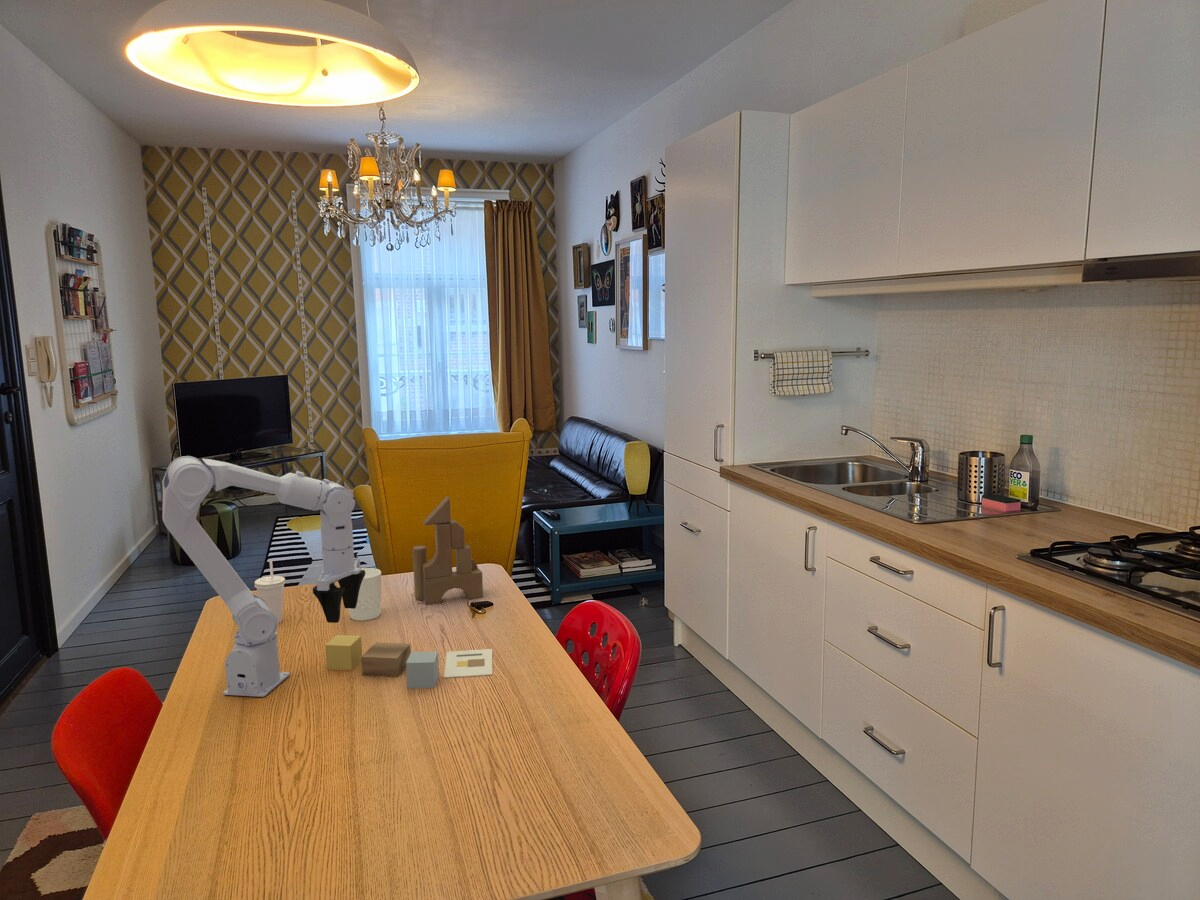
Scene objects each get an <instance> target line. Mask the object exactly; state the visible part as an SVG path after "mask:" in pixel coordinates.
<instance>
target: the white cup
mask: <svg viewBox="0 0 1200 900" xmlns="http://www.w3.org/2000/svg"><path fill="white" fill-rule="evenodd" d="M360 568H361V567H360ZM361 570H365V576H364V578H363V580H362V583H361V586H360V590H359V595H358V600H357V605H356V608H355V609H351V608H348V610H349V611H348V612H349V617H350V619H352V620H353V621H360V622H361V621H369V620H374V619H376V618H378V617H380V616H381V613H382V612H381V611H382V610H381V606H382V605H381V602H382V571H381V570H380V569H379V568H372V567H364V568H363V567H362V568H361Z"/></svg>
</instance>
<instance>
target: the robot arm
mask: <svg viewBox="0 0 1200 900" xmlns="http://www.w3.org/2000/svg"><path fill="white" fill-rule="evenodd" d="M201 460H202V461H203V462H204V463H205V464H204V463H203V462H202V461H201ZM161 482H162V483H161V484H162V510H161V511H162V514H161V515H162V516H161V517H162V522H163V524H164V526H165V527H166V529H167V531H168V532H169V533H170V534H171V536H172V537H173V538H174V539H175V541H177V543H178V544H179V546H180V547H181V548H182V550H183V551H184V552H185V553H186V555H187V557H189V559H190V560H191V561H192V562H193V564H194V565H195V566H196V568H197V569H198V570H199V571H200V573H201V575H203V576H204V578H205V579H206V581H207V582H208V583H209V584H210V586H211V587H212V588H213V589H214V590H215V592H216V593H217V594H218V596H219V597H220V599H221V600H222V601H223V602H224V604H225V606H226V607H227V608H228V610H229V611H230V612H231V614H232V615H231V616H232V620H233V622H234V623H235V625H236V626H237V627H238V629H237V630H236V633H235V635H234V639H233V640H234V645H233V648H232V650H231V651H230V652H229V653H228V655H227V656H226V659H225V662H224V663H225V664H224V665H225V676H226V677H225V678H226V688H227V689H225V690H223V692H222V695H224V696H240V697H241V696H242V697H259V698H260V697H261V698H263V697H266V696H267V695H268V694H270V693H271V692H272V690H274V689H275V688H276V687H278V686H279V685H280V684H281V683H282V682H283V681H284V680H286V679H287V678H288V677H289V676H290V675H291V673H290V672H288V671H287V672H286V671H281V670H280V658H279V642H278V631H277V629H278V625H279V623H278V622H277V618H276V616H275V615H274V613H273V612H272V611H271V610H270V609H269V607H268V605H267V603H266V602H265V600H264V599H262V598H261V597H258V595H256V594H254V593H253V592H252V591H251V590H250V588H249V587H248V586H247V585H246V583H245V582H244V581H243V579H242V578H241V576H239V574H238V573H237V572H236V570H235V569H234V568H233V566H232V565H231V563H230V562H229V561H228V560H227V558H226V556H224V555H223V553H222V552H221V550H220V549H219V548H218V546H217V545H216V544H215V543H214V541H213V540H212V538H211V537H210V535H208V533H207V532H206V530H205V529H204V528H203V526H202V525H201V524H200V522H199V521H198V520H197V517H198V513H199V512H198V511H199V509H200V506H201V503H202V502H203V501H204V499H205V498H206V497H207V495H208V494H209V493H210V491H211V490H212V488H213V490H214V491H215V492H219V491H221V490H224V489H226V488H229V487H232V486H234V487H236V488H242V489H248V490H253V491H258V492H261V493H262V492H263V493H266V494H267V493H268V494H272V495H273V494H274V495H275V496H276V497H277V499H278V501H279V502H280V504H284V505H289V506H292V507H297V508H301V509H305V510H310V511H315V512H316V511H319V510H320V511H319V513H320V514H319V515H320V538H321V552H322V555H321V556H322V570H321V573H320V576H319V577H318V579H317V580H316V585H315V586H313V587H312V593H313V595H314V597H316V599H317V600H318V602H319V604H320V605H321V608H322V611H323V613H324V616H325V620H326V622H327V623H330V624H331V623H333V624H336V623H337V624H338V623H339V622H340V618H341V605H342V604H343V607H344V608H345V609H349V608H351V609H355V608H356V605H357V600H358V595H359V590H360V586H361V583H362V580H363V578H364V576H365V570H361V559H360V557H355V551H354V535H353V522H352V521H353V520H352V512H353V510H354V508H355V506H356V499H354V496H353V494H352V492H351V490H349V489H347V488H346V487H344V486H343V485H341V484H339V483H336V482H334V481H333V480H332V481H330V480H329V479H326V478H323V479H322V480H320V479H317V478H312V477H309V476H306V475H305V473H304V472H302V471H298V470H296V471H295V473H293V472H288V473H285V474H284V475H282V476H275V475H271V474H269V473H265V472H262V471H259V470H256V469H251V468H248V467H244V466H239V465H238V464H234V463H230V462H226V461H221V460H215V459H209V458H201V459H199V458H197V457H194V456H191V455H186V456H185V455H184V456H179V457H177V458H175V459H174V460H172V461H171V462H170V463H169V465H168V467H167V469H166V471H165V474H164V476H163V479H162V481H161ZM337 582H338V585H339V587H338V586H337V585H336V583H337ZM341 603H342V604H341Z"/></svg>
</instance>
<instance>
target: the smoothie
mask: <svg viewBox="0 0 1200 900" xmlns="http://www.w3.org/2000/svg"><path fill="white" fill-rule="evenodd" d="M269 570H270V571H269V572H270V575H269V576H264V577H260V578H257V579H256V580H255V581H254V587H255V589H256V592H257V596H258V597H261V598H262V599H264V600H265V602H266V603H267V605H268V607H269V609H270V610H271V611H272V612H273V613H274V615H275V616H276V618H277V622H278V624H280V623H282V622H281V621H283V604H284V592H285V590H284V589H285V584H286V578H285V577H284V576H282V575H274V567H273V560H269ZM279 622H280V623H279Z"/></svg>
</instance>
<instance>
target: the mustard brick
mask: <svg viewBox="0 0 1200 900" xmlns="http://www.w3.org/2000/svg"><path fill="white" fill-rule="evenodd" d="M324 645H325V646H324V647H325V658H326V659H325V662H326V670H334V671H337V670H338V671H353V670H354V669H355V667H357V666H358V665H359V664H360V663H362V662H361V656H362V655H363V647H362V645H363V643H362V636H361V635H345V634H344V635H343V634H337V635H335V636H334V637H333V638H331V639H330V640H329V641H328V642H327V643H326V644H324Z"/></svg>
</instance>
